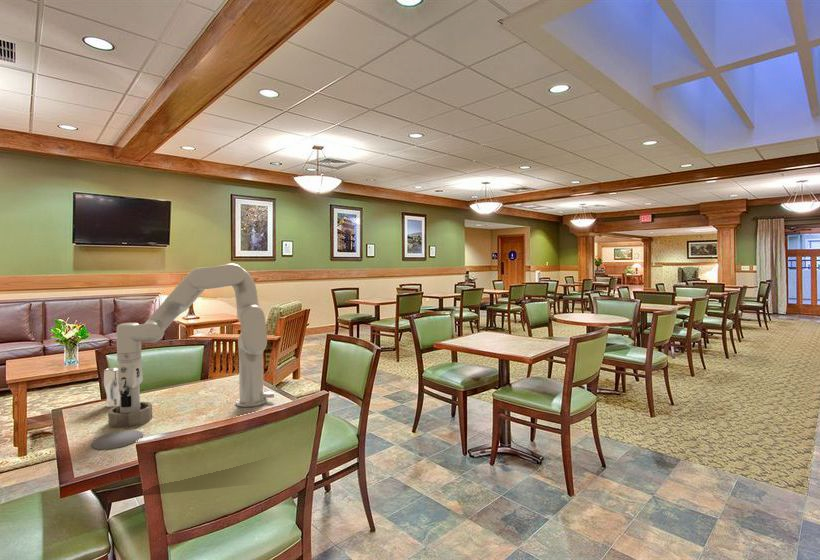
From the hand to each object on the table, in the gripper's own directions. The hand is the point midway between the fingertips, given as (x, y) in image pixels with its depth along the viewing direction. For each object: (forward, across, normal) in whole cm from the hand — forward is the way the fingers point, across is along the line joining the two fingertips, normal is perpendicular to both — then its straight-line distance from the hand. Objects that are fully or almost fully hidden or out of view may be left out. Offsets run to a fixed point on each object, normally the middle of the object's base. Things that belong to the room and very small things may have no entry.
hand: (130, 403), depth 159 cm
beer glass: (+7, +21, +14) cm, 26 cm away
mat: (+7, -18, -3) cm, 20 cm away
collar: (+7, 0, 0) cm, 7 cm away
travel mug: (+7, 0, 0) cm, 7 cm away
